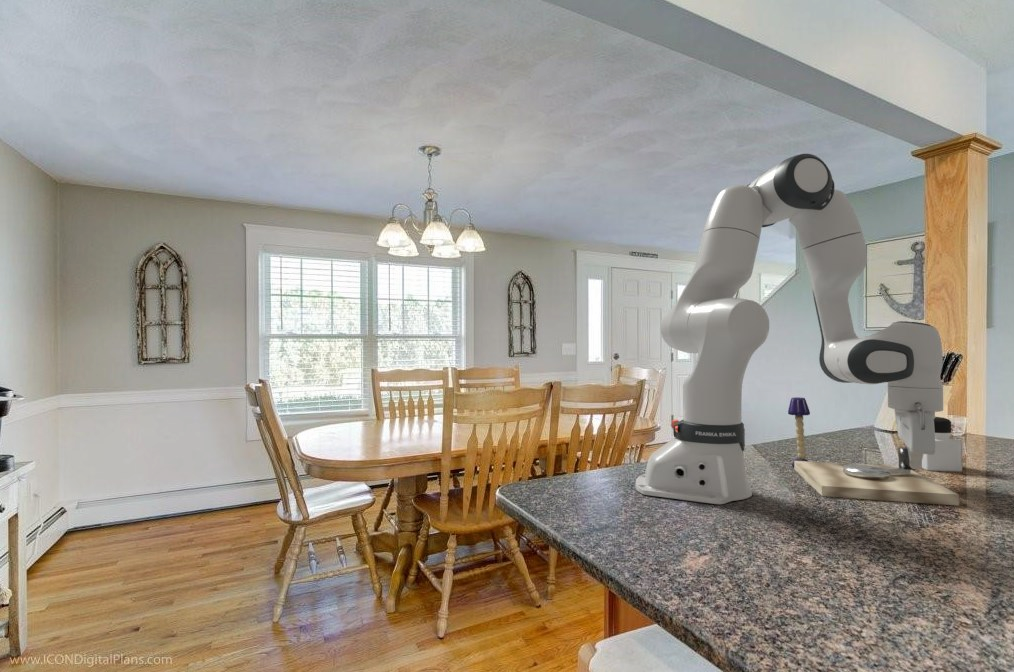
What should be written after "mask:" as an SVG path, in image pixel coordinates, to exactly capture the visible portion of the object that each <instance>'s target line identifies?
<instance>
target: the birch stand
mask: <svg viewBox="0 0 1014 672" xmlns="http://www.w3.org/2000/svg"><path fill="white" fill-rule="evenodd" d="M793 461H794V460H793ZM848 464H849V463H847V462H846V463H844V462H829V461H828V462H826V461H825V462H824V461H809V460H808V461H794V467H793V468H794V469H793V470H795V472H796V473H798V474H799V475H800V476H801V477H802V478H803V480H805V481H806V482H807V483H808V484H809V485H810V486H811V487H812V488H813V489H814V490H815V491H816V492H817V493H819V495H820V496H821V497H830V498H831V497H833V498H846V499H847V498H848V499H861V500H874V501H886V502H887V501H888V502H902V503H903V502H904V503H916V504H917V503H918V504H929V505H930V504H931V505H945V506H946V505H947V506H959V507H960V494H958V493H957V492H955V491H952V490H951V489H949V488H947V487H945V486H943V485H942V484H941V485H940V483H937V482H935V481H933V480H931V479H929V478H927V477H926V476H924V475H923V474H922V475H921V474H920V473H919V472H916V471H915V470H911V474H890V477H889V478H883V479H874V478H864V477H857V476H853V475H849V474H846V473H844V472H843V466H844V465H848ZM859 464H860V465H867V464H866V463H865V464H863V463H859ZM869 465H870V466H876V467H881V468H894V467H899V465H882V464H881V465H880V464H869Z"/></svg>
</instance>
